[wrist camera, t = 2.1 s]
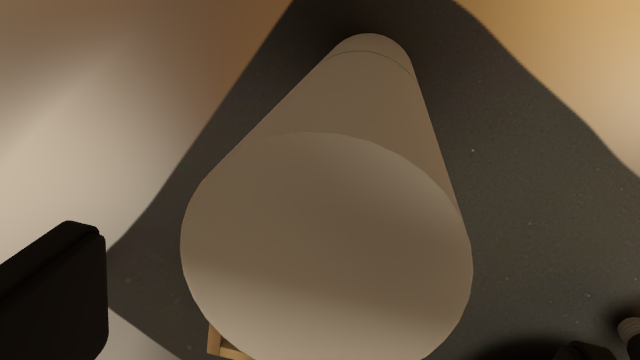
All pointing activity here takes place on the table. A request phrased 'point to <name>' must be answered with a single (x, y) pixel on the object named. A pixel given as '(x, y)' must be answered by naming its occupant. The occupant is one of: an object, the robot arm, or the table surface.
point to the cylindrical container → (333, 221)
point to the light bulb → (631, 336)
